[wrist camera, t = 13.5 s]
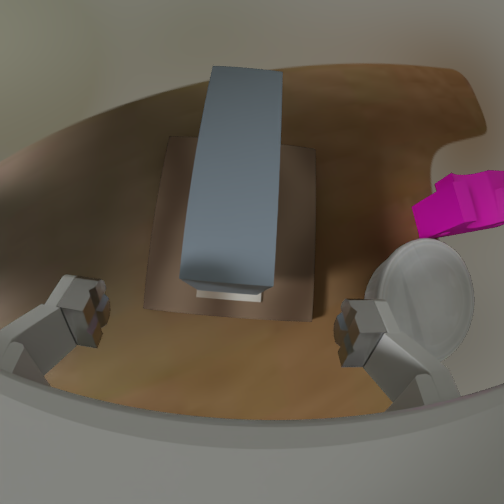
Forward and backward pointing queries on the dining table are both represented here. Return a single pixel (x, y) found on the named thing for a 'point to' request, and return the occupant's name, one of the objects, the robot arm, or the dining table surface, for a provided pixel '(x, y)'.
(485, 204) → the toy block
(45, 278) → the dining table surface
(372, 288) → the ramekin
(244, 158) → the slate block
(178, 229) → the peg stand
